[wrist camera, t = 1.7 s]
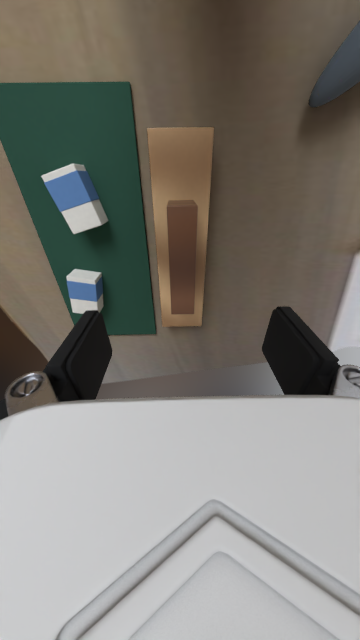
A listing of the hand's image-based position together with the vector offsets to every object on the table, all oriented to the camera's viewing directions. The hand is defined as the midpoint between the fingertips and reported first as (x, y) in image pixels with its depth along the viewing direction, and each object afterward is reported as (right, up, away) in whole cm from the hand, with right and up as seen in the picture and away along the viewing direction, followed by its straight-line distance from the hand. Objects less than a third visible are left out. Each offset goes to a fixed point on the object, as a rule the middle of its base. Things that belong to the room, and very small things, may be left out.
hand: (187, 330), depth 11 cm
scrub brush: (0, +9, +13) cm, 16 cm away
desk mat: (-10, +9, +12) cm, 19 cm away
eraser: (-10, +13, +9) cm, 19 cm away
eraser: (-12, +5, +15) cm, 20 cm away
